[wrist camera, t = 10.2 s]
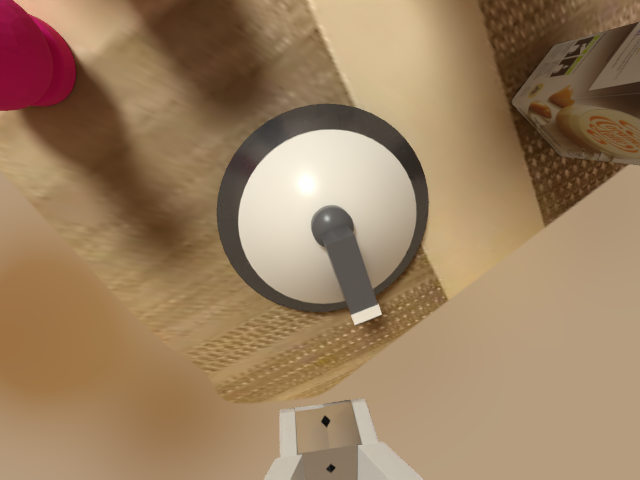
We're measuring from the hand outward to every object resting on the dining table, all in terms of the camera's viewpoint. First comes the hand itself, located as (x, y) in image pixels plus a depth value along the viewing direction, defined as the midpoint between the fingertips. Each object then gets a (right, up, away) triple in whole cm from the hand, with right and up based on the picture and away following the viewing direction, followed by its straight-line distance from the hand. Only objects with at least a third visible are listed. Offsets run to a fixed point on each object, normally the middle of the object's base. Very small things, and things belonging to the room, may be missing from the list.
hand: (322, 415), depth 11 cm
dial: (+1, +8, +18) cm, 20 cm away
